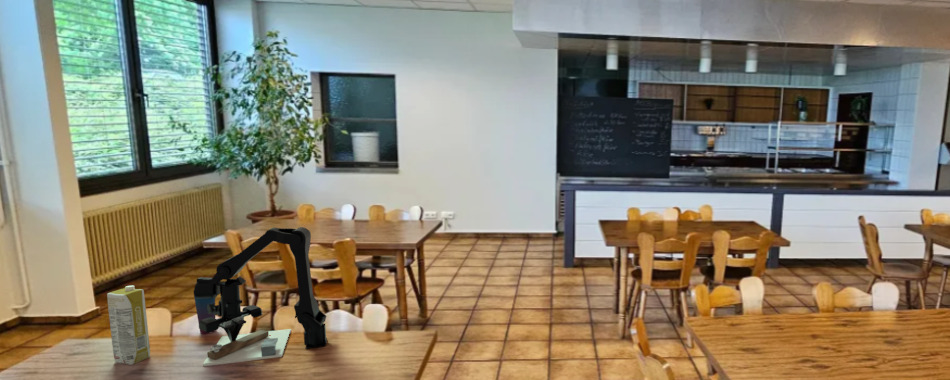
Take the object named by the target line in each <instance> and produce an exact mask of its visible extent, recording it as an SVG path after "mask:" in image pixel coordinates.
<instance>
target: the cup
mask: <svg viewBox="0 0 950 380" xmlns="http://www.w3.org/2000/svg"><path fill="white" fill-rule="evenodd" d="M193 298H194V303H195V309H196V310H195V311H196V315H197V317H196V318H197V321H198V324H199V322H200V321H201V320H203V319H206V318H210V317H212V318H215V319H216V315H215V316H214V313H212V314H208V312H207V305H209V304H213V303H214V304H215V305H216V298H195V296H194V295H193ZM214 332H215V331H212V332H205V331H203V330H201V329H199V333H200V334H201V335H207V334H211V333H214Z"/></svg>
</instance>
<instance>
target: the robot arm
mask: <svg viewBox="0 0 950 380" xmlns="http://www.w3.org/2000/svg"><path fill="white" fill-rule="evenodd" d="M311 238H312V234H311V231H310V230H309V229H307V228H306V227H303V226H301V227H300V226H299V227H297V228H289V227H288V228H282V227H281V228H280V227H274V226H273V227H272V228H270V229H268V230H266V231H265V233H264V234H263V235H261V236H260V237H258V238H257V239H256V240H255V241H253V242H252V243H251V244H250V245H248V246H247V247H245V248H244V249H243V250H241V251H240V252H239V253H238V254H235V255H233V256H232V257H229V258H228V259H226V260H224V261H223V262H221V263H219V264H218V265H217V267H216V272H215V274H214V275H213V277H204V276H202V277H198V278H196V283H195V285H194V290H193V297H194V296H195V298H215V299H216V298H217V297H218V296H219V295H220V299H219V300H218V304H217V305H216V303H215V304H214V303H213V304H209V305H207V312H208V314H212V313H214V316H215V318H212V317H210V318H206V319H203V320H201V321H200V322H199V323H198V329H199V330H200V329H201V330H203V331H205V332H212V331H214V332H216V331H218V330H219V328H222V329H223V330H224V331H225V333H226V336H228V337H229V339H230V341H231V342H233V341H235V340H236V339H237V336H238V335H240V331H241V330H242V328H243V326H244V324H246V323H247V320H245V317H248V316H251V317H252V318H255V319H256V318H258V317H262V316H263V309H262V307H259V306H257V305H254V304H251V305H247V306H244V307H243V308H242V307H241V304H243V300H242V299H241V294H240V286H242V285H244V284H245V283H246V279H244V278H243V277H242V276H240V275H239V276H237V277H236V278H233V277H235V276H236V275H237V274H239V273H240V272H241V271H242V270H243V269H244V267H246V265H247V263H249V261H250V260H251V259H253V258H254V257H255V256H257V255H258V254H259V253H260V252H262V251H263V250H265V249H266V248H268V246H269V245H271V244H272V243H273V242H275V243H279V244H282V245H288V246H289V250H290V251H291V253H292V255H293V256H294V262H295V263H294V264H295V272H296V278H297V280H296V281H297V289H298V295H299V300H298V301H296V303H295V304H294V305H293V310H294V312H295V315H294V319H296V320H297V322H298V323H299V324H301V326H302V328H303V329H304V332H303V340H304V342H303V343H304V345H305V349H313V348H314V349H315V348H322V347H326V346H327V343H328V337H327V330H326V323H325V322H326V319H327V315H326V314H325V313H324V312H323V311H322V310H320V307H319V304H318V301H317V299H316V297H315V296H314V293H313V283H312V275H311V264H310V256H309V254H310V248H311ZM195 298H194V299H195ZM241 310H242V311H241ZM216 316H218V317H219V318H216ZM212 333H213V332H212Z"/></svg>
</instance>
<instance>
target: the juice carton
mask: <svg viewBox="0 0 950 380" xmlns="http://www.w3.org/2000/svg"><path fill="white" fill-rule="evenodd" d="M106 294H107V296H106V297H107V311H108V318H109V319H108V320H109V325H110V326H109V327H110V334H111V335H110V336H111V345H112V352H113V360H114V362H115V363H118V364H119V363H120V364H124V365H129V366H133V365H135V364H137V363H139V362H141V361H145V360H146V359H149V358H150V357H151V348H150V347H151V345H150V336H149V326H148V317H147V308H146V299H145V291H144V289H140V288H139V289H136V288H135V285H127V286H125V287H123V288H120V289H117V290H113V291H111V292H108V293H106Z"/></svg>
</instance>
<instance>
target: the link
mask: <svg viewBox="0 0 950 380" xmlns="http://www.w3.org/2000/svg"><path fill="white" fill-rule="evenodd" d="M268 331H269V330H262V329H259V330H257V331H253V332H251V333H252V334H249V333H248V334H249V335H247V336H245V337H242V338H240V339H237V340H235V341H233V342H230V343H228V344H225V345H223V346H222V348H221V349H219V352H216V353H215V352H214V351H213V350H211V349H210V350H209V351H207V357H208V358H211V359H214V360H216V359H218V358H220V357H223V356H225V355H227V354H230V353H232V352H234V351H236V350H239V349H241V348H243V347H246V346H248V345H250V344H252V343H255V342H257V341H259V340H262V339H264V338H266V337H268V336H269V335H268Z"/></svg>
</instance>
